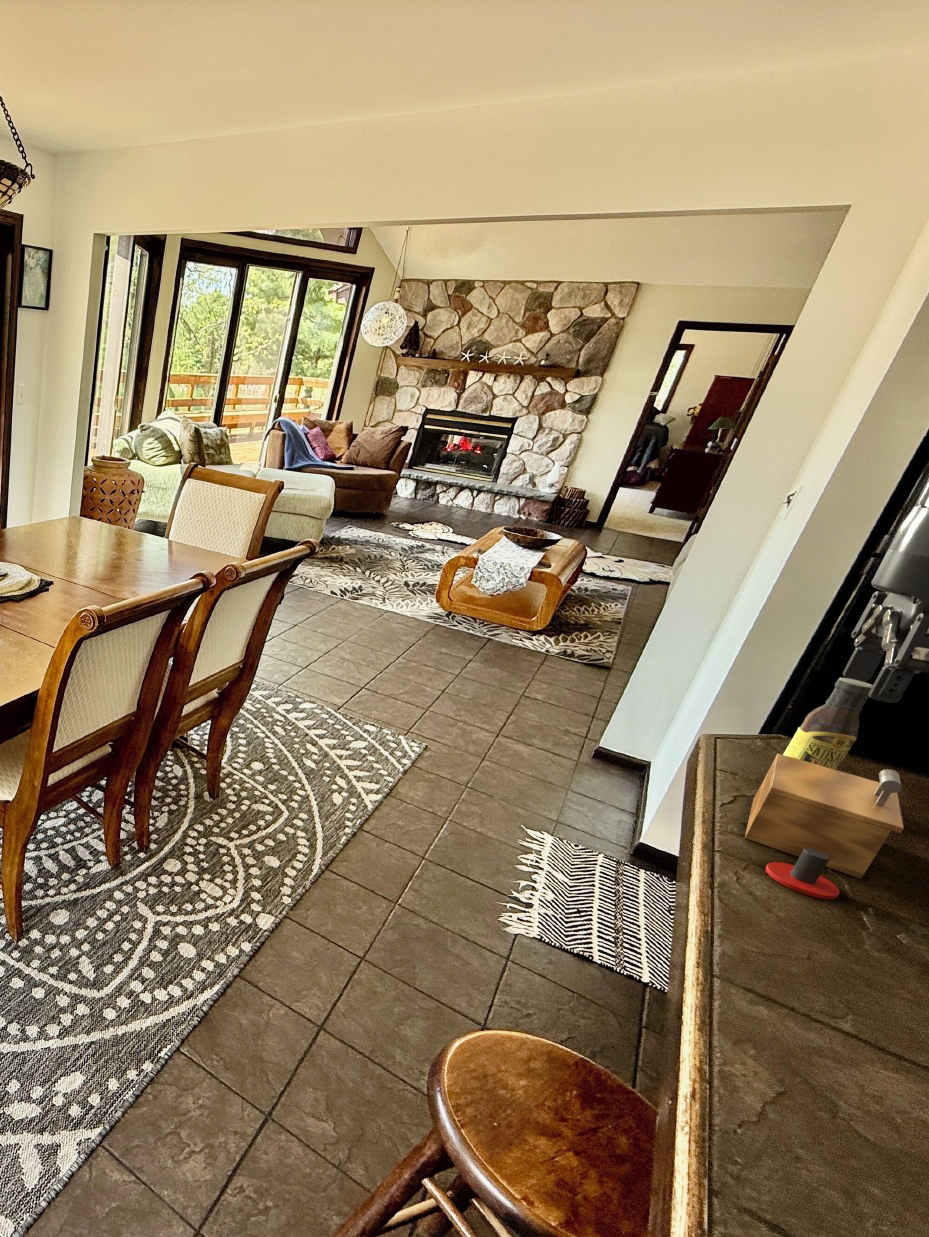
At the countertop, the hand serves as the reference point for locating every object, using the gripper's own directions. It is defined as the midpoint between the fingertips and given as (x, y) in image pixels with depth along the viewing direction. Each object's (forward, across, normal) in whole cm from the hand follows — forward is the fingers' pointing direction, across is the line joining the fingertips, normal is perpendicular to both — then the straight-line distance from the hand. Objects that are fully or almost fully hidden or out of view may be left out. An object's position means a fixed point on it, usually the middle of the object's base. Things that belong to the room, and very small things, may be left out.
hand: (867, 689), depth 81 cm
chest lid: (+20, +20, -8) cm, 29 cm away
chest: (+28, +20, -8) cm, 35 cm away
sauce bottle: (+28, +39, -11) cm, 49 cm away
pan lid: (+28, +4, -4) cm, 28 cm away
